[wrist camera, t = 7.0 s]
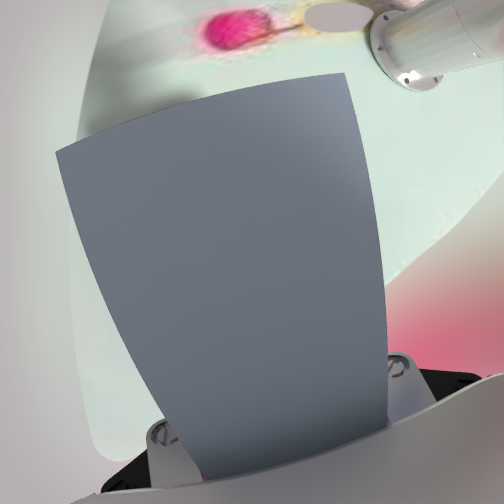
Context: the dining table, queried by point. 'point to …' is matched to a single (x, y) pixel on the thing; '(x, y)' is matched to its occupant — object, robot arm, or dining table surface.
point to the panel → (242, 268)
